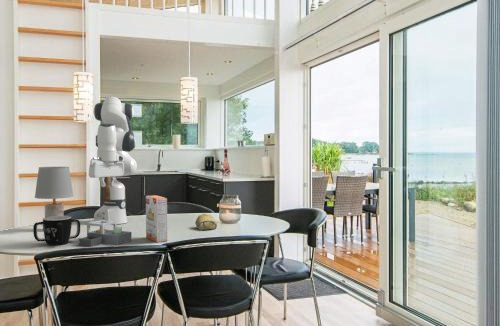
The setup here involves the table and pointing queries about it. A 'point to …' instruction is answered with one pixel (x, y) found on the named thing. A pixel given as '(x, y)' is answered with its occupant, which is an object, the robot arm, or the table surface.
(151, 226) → the cracker box
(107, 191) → the dowel
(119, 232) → the button on
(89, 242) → the block
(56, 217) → the mug
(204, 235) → the table surface
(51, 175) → the lamp
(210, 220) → the pastry
